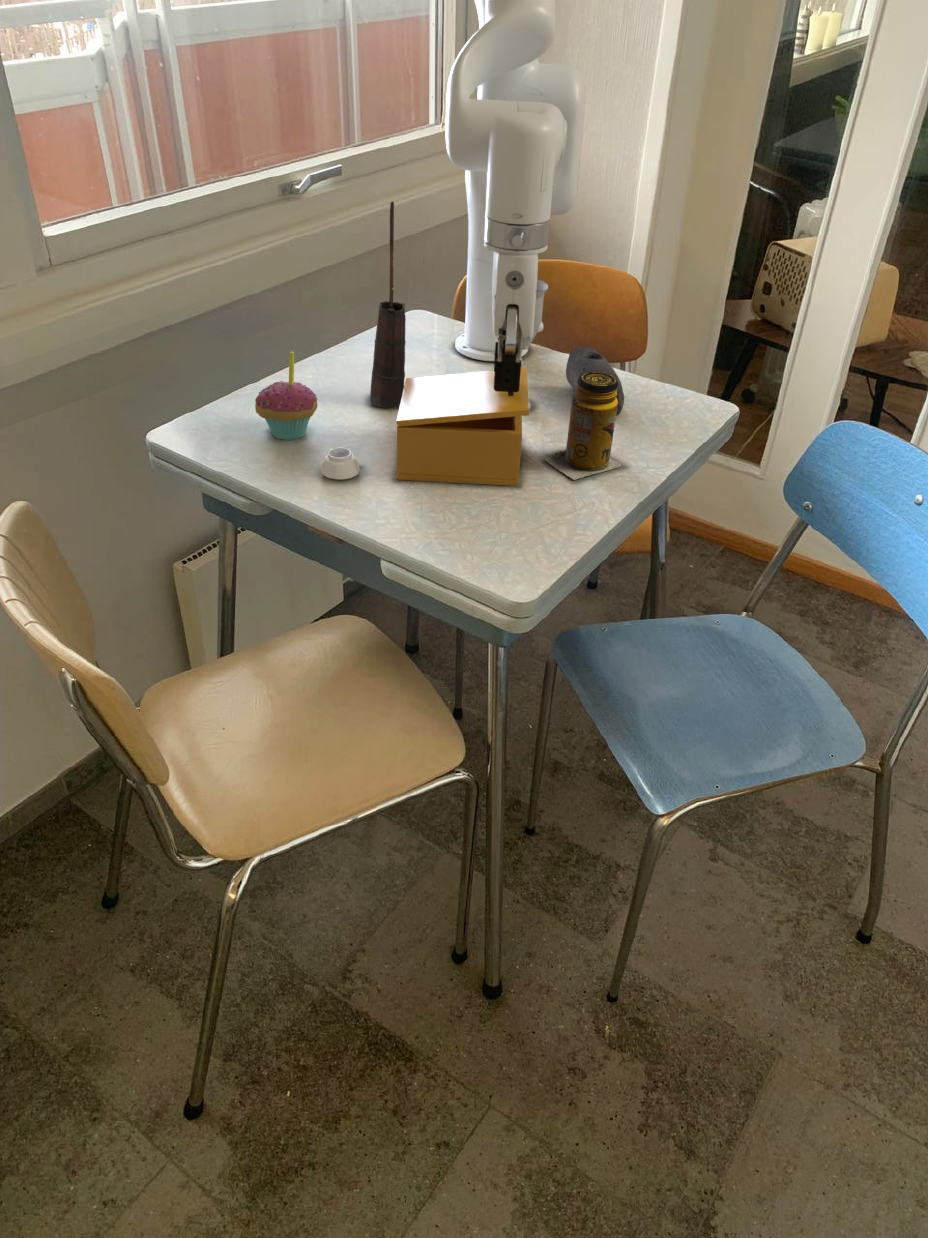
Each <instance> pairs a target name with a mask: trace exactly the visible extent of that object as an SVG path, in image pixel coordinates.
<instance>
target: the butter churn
mask: <svg viewBox="0 0 928 1238" xmlns="http://www.w3.org/2000/svg"><path fill="white" fill-rule="evenodd" d="M389 205H390V206H389V300H387V301H386V300H385V301H381V302H379V304H378V305H379V306H378V314H377V323H376V330H375V339H374V349H373V363H372V370H371V379H370V391H369V392H370V393H369V394H370V395H369V401H370V404H372V405H373V406H375V407H378V408H383V409H390V408H392V407H397V406H400V403H401V399H402V394H403V390H404V386H405V379H406V371H405V365H406V364H405V363H406V322H407V321H406V307H405V303H404V302H403V303H402V302H398V301H394V289H393V288H394V286H395V285H394V247H395V246H394V240H395V236H394V232H395V231H394V229H395V221H394V220H395V202H394V201H390V204H389Z"/></svg>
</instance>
